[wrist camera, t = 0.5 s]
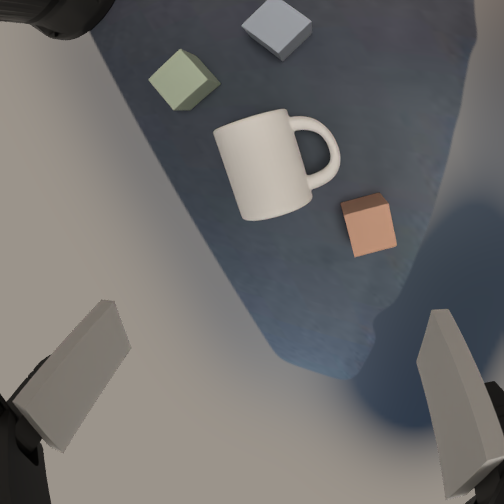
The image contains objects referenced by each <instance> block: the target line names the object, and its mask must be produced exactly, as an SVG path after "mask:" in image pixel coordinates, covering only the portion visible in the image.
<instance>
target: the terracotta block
mask: <svg viewBox="0 0 504 504" xmlns="http://www.w3.org/2000/svg"><path fill="white" fill-rule="evenodd" d="M340 204H341V207H342V211H343V214H344V218H345V222H346V225H347V229H348V233H349V237H350V241H351V245H352V249H353V253H354V257H357V256H361V255H365V254H369V253H372V252H376V251H380V250H384V249H388V248H391V247H395V246H397V243H396V238H395V233H394V228H393V223H392V218H391V213H390V209H389V204H388V202H387V201H386V200H385V199H384V197H383V196H382V195H381V194H380V192H379V193H375V194H372V195H368V196H364V197H360V198H357V199H353V200H349V201H346V202H342V203H340Z"/></svg>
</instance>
